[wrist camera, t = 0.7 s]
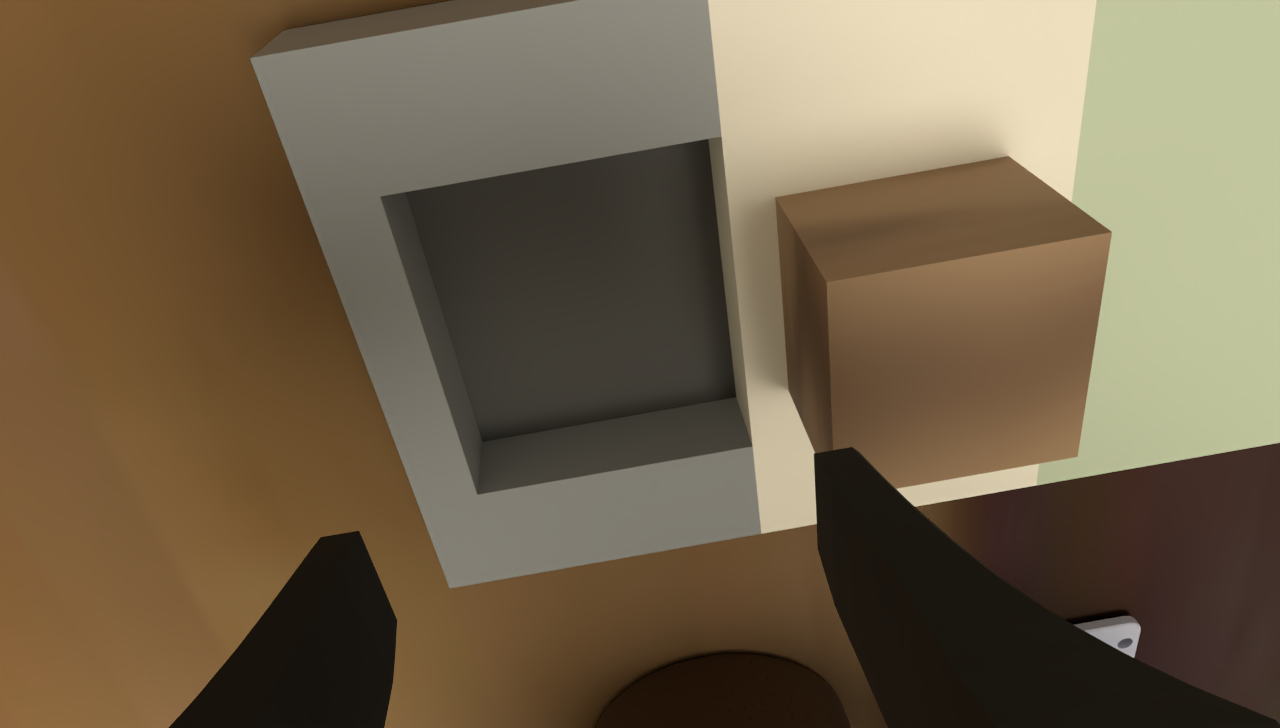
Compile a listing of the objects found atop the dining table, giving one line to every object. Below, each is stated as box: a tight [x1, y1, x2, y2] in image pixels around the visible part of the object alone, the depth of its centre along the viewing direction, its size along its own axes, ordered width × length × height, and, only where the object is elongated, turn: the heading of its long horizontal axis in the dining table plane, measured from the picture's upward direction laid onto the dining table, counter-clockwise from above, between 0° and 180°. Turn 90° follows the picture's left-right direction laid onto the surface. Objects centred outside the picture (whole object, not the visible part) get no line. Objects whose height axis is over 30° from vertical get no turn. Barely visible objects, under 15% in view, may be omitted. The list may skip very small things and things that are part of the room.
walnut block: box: [775, 156, 1112, 489], centre depth 18 cm, size 5×5×4 cm
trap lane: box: [250, 0, 1280, 588], centre depth 21 cm, size 14×32×2 cm, turn 98°
